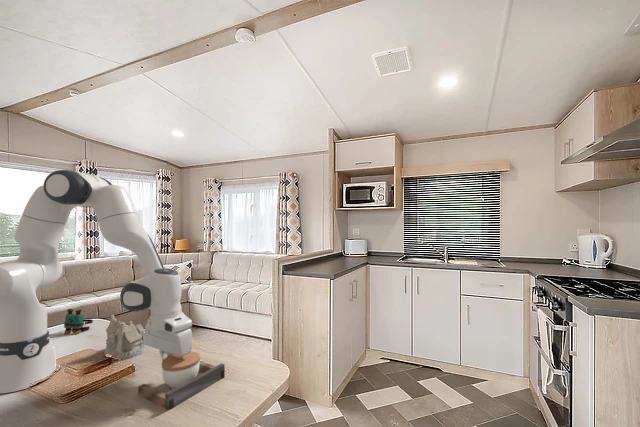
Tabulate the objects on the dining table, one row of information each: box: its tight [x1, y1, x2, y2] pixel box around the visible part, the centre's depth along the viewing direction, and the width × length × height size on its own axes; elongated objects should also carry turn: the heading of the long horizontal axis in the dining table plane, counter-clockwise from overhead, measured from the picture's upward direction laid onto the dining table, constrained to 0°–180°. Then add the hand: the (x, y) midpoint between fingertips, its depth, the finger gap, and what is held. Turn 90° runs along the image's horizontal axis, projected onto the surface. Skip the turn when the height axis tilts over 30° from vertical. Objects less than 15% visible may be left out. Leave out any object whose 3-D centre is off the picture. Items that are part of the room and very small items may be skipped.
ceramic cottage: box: [104, 314, 148, 361], centre depth 119 cm, size 16×16×15 cm
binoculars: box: [63, 308, 94, 335], centre depth 141 cm, size 9×11×10 cm
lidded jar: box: [161, 351, 201, 390], centre depth 93 cm, size 11×11×9 cm
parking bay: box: [137, 360, 226, 411], centre depth 92 cm, size 14×19×4 cm
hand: (167, 363), depth 97 cm, fingers closed
